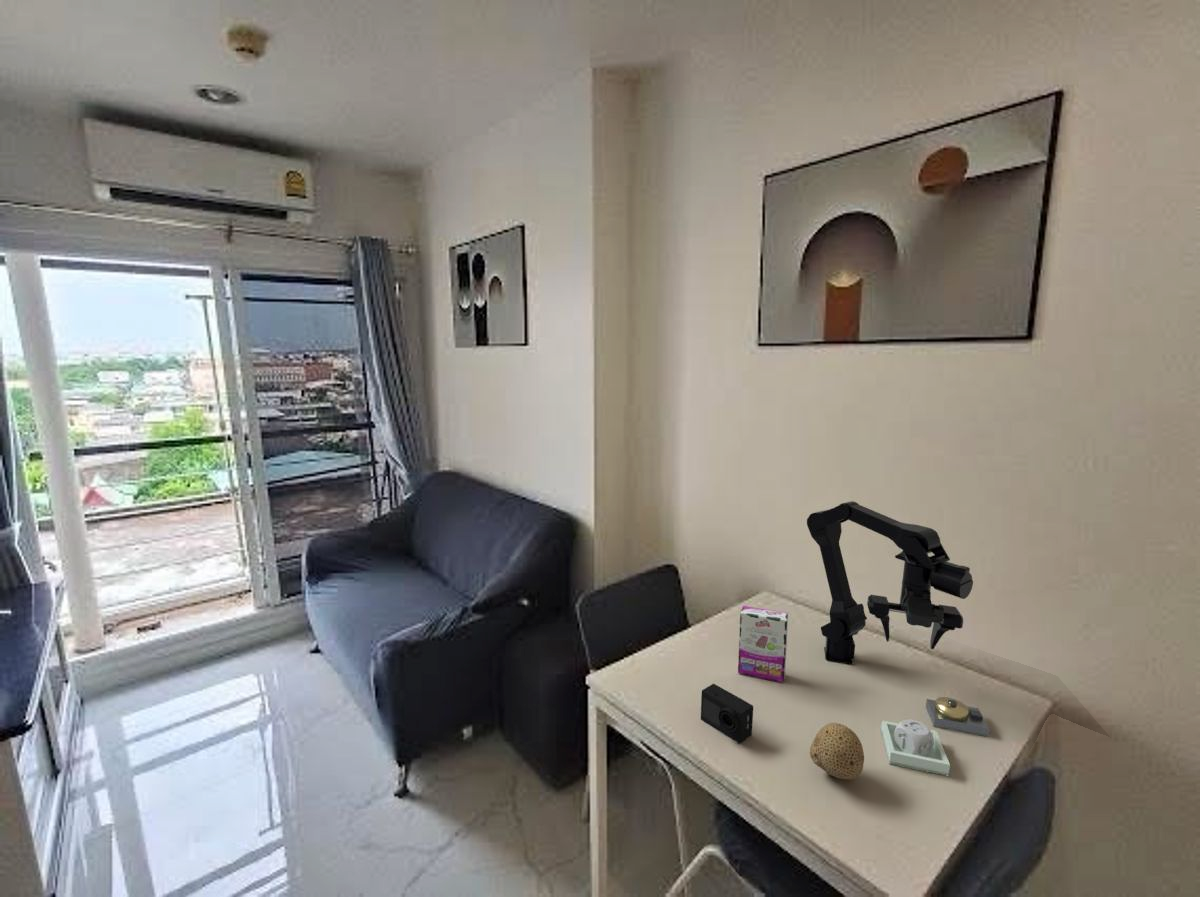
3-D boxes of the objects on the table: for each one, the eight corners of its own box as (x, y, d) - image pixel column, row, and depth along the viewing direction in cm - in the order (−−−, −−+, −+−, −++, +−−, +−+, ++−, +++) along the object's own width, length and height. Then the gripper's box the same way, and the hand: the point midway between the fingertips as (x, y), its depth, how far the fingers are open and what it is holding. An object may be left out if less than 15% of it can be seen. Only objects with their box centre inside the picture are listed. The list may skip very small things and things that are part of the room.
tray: (889, 763, 105) (890, 752, 105) (881, 731, 114) (882, 720, 114) (948, 776, 102) (950, 764, 101) (934, 742, 111) (936, 731, 111)
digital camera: (696, 721, 117) (697, 692, 116) (712, 711, 121) (713, 682, 120) (736, 747, 109) (737, 715, 108) (751, 735, 113) (753, 705, 112)
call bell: (933, 726, 116) (935, 707, 115) (925, 706, 123) (927, 689, 122) (988, 736, 113) (990, 717, 112) (977, 716, 119) (979, 698, 119)
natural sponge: (874, 791, 98) (879, 742, 97) (830, 799, 96) (835, 749, 95) (842, 756, 107) (846, 710, 105) (801, 763, 105) (805, 716, 104)
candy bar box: (785, 673, 136) (789, 612, 133) (783, 684, 131) (788, 620, 128) (739, 663, 140) (742, 604, 137) (736, 673, 135) (740, 612, 133)
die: (892, 744, 110) (894, 721, 109) (911, 738, 111) (913, 716, 110) (913, 761, 105) (916, 738, 104) (933, 755, 107) (935, 732, 106)
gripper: (876, 589, 120) (869, 654, 122) (974, 603, 114) (965, 671, 116) (870, 571, 130) (864, 631, 133) (960, 583, 124) (951, 645, 126)
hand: (909, 644), depth 127 cm, fingers open, 9 cm apart
